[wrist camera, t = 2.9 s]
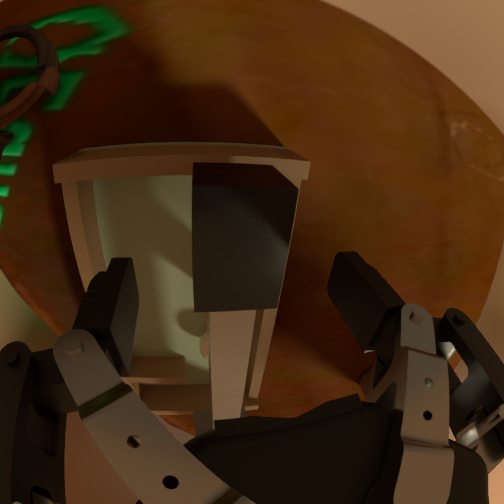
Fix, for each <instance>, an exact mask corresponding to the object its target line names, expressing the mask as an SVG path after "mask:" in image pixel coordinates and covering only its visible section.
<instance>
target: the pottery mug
mask: <svg viewBox="0 0 504 504" xmlns="http://www.w3.org/2000/svg"><path fill="white" fill-rule="evenodd" d="M14 37H22V38H26V39H28V40H30V41H31V42H32V43H33V44H34V46H35V47H36V49H37V54H38V61H37V68H38V69H41V72H40V74H39V77H38V79H37V81H36V82H33V81H31V82H29V83H28V84H27V86H26V87H25V88H24V89H23V90H22V91H21V92H20V93H19V94H18V95H17V96H16V97H15V98H14V99H13V100H11V101H10V102H8V103H6V104H5V105H2V106H0V127H1V128H2V129H3V128H5V127H7V126H8V125H9V124H11V123H12V122H13V121H14V120H16V119H17V118H19V117H20V116H21V115H22V114H23V113H24V112H25V111H27V109H29V108H30V107H31V106H32V105H33V104H34V103H35V102H36V101H37V100H38V99H39V98H40V96H41V95H42V94H43V92H44V91H45V90H46V91H48V92H49V94H50V96H54V95H55V94H56V92H57V89H58V86H59V82H60V72H59V71H58V69H59V67H60V62H59V59H58V56H57V53H56V50H55V48H54V46H53V44H52V43H51V41H50V40H49V39H48V38H47V37H46V36H45V35H44V34H42V33H41V32H40V31H37V30H36V29H35V28H33V27H31V26H27V25H14V26H10V27H7V28H4V29H2V30H1V31H0V42H2V41H4V40H6V39H9V38H14ZM13 138H14V136H13V134H10V135H4V134H3V133H1V132H0V159H1V156H2V153H3V150H4V148H5V147H6V146H7V145H8V143H9V142H10V141H12V139H13Z"/></svg>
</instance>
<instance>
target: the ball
mask: <svg viewBox="0 0 504 504" xmlns="http://www.w3.org/2000/svg"><path fill="white" fill-rule="evenodd" d="M199 349H200V352H201V354H202V356H203V357H204V358H205V359H206V360H208V340H207V331H206V332H205V333H204V334H203V335H202V337H201V338H200V341H199Z"/></svg>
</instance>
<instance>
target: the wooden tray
mask: <svg viewBox="0 0 504 504" xmlns="http://www.w3.org/2000/svg"><path fill="white" fill-rule="evenodd" d="M193 162H212V163H245V164H264V165H273V166H274V167H275V168H276V169H277V170H278V171H280V172H281V173H282V174H283V175H284V176H285V177H286V178H287V179H288V180H290V181H291V182H292V183H293V184H294V185H295V186H296V187H297V188H298V189H299V191H300V185H301V179H303V180H308V175H309V169H310V161H309V160H307V159H305V158H304V157H302V156H300V155H298V154H297V153H295V152H293V151H291V150H289V149H288V148H286V147H283V146H272V145H260V144H245V143H223V142H158V143H137V144H122V145H110V146H100V147H91V148H84V149H82V150H80V151H78V152H76V153H74V154H72V155H70V156H68V157H66V158H64V159H62V160H61V161H59V162H57V163H55V164H53V174H54V182H55V183H62V190H63V197H64V203H65V210H66V215H67V221H68V226H69V231H70V236H71V240H72V245H73V249H74V253H75V257H76V261H77V265H78V268H79V272H80V276H81V279H82V283H83V286H84V289H85V292H87V288H88V286H89V283H90V281H91V279H92V278H93V277H94V276H95V275H96V274H97V273H98V272H99V271H107V268H108V266H109V263H110V261H111V259H112V258H115V257H131V258H132V259H133V264H134V270H135V275H136V281H137V286H138V292H139V309H138V315H137V322H136V328H135V335H134V343H133V351H132V360H131V369H130V377H121V379H122V380H123V381H124V382H125V384H129V385H130V386H131V388H132V389H133V390H134V391H135V392H136V394H137V395H138V396H139V397H140V399H141V400H142V401H143V402H144V403H145V405H146V406H147V407H148V408H149V409H150V411H151V412H152V413H153V414H154V415H190V414H194V423H195V432H196V436H198V435H200V434H202V433H205V432H207V431H209V430H212V420H211V404H210V386H209V362H208V360H206V359H205V358H204V357H203V356H202V354H201V352H200V349H199V341H200V338H201V337H202V335H203V334H204V333H205V332H206V320H205V312H198V313H194V298H193V272H192V175H193ZM298 198H299V192H298ZM298 198H297V204H298ZM297 204H296V209H297ZM295 215H296V210H295ZM294 221H295V216H294ZM293 227H294V222H293ZM293 227H292V232H293ZM291 238H292V233H291ZM290 243H291V239H290ZM289 249H290V244H289ZM288 254H289V250H288ZM287 259H288V255H287ZM286 265H287V260H286ZM285 270H286V266H285ZM284 275H285V271H284ZM283 280H284V276H283ZM282 285H283V281H282ZM281 290H282V286H281ZM280 295H281V291H280ZM279 300H280V296H279ZM278 305H279V301H278ZM277 310H278V306H277V308H275V309H260V310H256V315H255V322H254V328H253V335H252V342H251V349H250V356H249V362H248V369H247V375H246V382H245V389H244V395H243V401H242V408H241V414H240V418H241V417H247V415H246V410H254V409H258V406H259V404H258V400H257V398H258V394H259V390H260V385H261V381H262V377H263V373H264V368H265V364H266V360H267V355H268V351H269V347H270V342H271V338H272V333H273V328H274V324H275V319H276V314H277Z"/></svg>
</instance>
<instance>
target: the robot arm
mask: <svg viewBox="0 0 504 504" xmlns="http://www.w3.org/2000/svg"><path fill="white" fill-rule="evenodd" d="M327 289H328V294H329V297H330V298H331V300H332V302H333V303H334V305H335V306H336V308H337V310H338V311H339V313H340V314H341V316H342V318H343V319H344V321H345V323H346V324H347V326H348V328H349V329H350V331H351V333H352V334H353V336H354V338H355V339H356V341H357V343H358V344H359V346H360V348H361V349H362V351H363V353H367V352H370V351H374V350H375V351H376V353H377V354H376V355H375V357H374V359H373V365H372V367H371V368H370V369H369V370H367V371H366V372H365V373H364V374H363V375H362V377H361V378H360V380H359V385H360V387H361V389H362V391H363V393H364V395H365V400H364V401H363V402H361V400H360V398H359V396H358V394H357V393H356V394H352V395H349V396H346V397H342V398H339V399H335V400H331V401H327V402H325V403H323V404H322V405H320V406H318V407H316V408H314V409H312V410H310V411H308V412H306V413H304V414H302V415H300V416H298V417H295V418H276V417H260V416H249V417H241V418H232V419H222V420H214V429H213V430H210V431H207V432H205V433H202V434H200V435H198V436H196V437H194V438H193V439H191V440H189V441H188V442H187V443H185V444H184V445H182V444H181V443H180V442H179V441H178V440H177V439H176V438H175V437H174V436H173V435H172V434H171V433H170V432H169V431H168V430H167V429H166V427H165V426H164V425H163V424H162V423H161V422H160V421H159V420H158V419H157V418H156V416H155V415H154V414H153V413H152V412H151V411H150V409H149V408H148V407H147V406H146V405H145V403H144V402H143V401H142V400H141V399H140V397H139V396H138V395H137V394H136V392H135V391H134V390H133V389H132V388H131V386H130V385H129V384H125V382H124V381H123V380H122V379H121V377H130V369H131V360H132V351H133V343H134V335H135V328H136V322H137V315H138V309H139V292H138V286H137V281H136V275H135V270H134V264H133V259H132V258H131V257H115V258H112V259H111V261H110V263H109V266H108V268H107V271H99V272H98V273H97V274H96V275H95V276H94V277H93V278H92V279H91V281H90V283H89V286H88V288H87V292H86V293H85V295H84V300H82V303H81V306H80V308H79V311H78V314H77V316H76V319H75V322H74V325H73V328H72V330H70V331H67V332H65V333H64V334H62V335H61V336H60V337H59V338H58V339H57V340H56V342H55V344H54V347H53V348H51V349H47V350H42V351H37V352H31V351H30V349H29V348H28V346H27V345H26V344H25V343H22V342H19V341H16V342H11V343H9V344H7V345H6V346H5V347H4V348H3V349H2V350H1V351H0V504H66V498H65V481H64V480H65V479H64V449H65V430H66V418H67V413H70V412H75V411H79V415H80V417H81V419H82V421H83V423H84V425H85V426H86V428H87V430H88V431H89V433H90V434H91V436H92V438H93V439H94V441H95V442H96V444H97V445H98V447H99V448H100V450H101V451H102V453H103V454H104V456H105V457H106V458H107V460H108V461H109V463H110V464H111V465H112V467H113V468H114V469H115V471H116V472H117V473H118V474H119V475H120V477H121V478H122V479H123V481H124V482H125V483H126V484H127V486H128V487H129V488H130V489H131V490H132V491H133V493H134V494H135V495H136V496H137V497H138V498H139V500H138V501H137V503H136V504H489V496H488V474H489V473H490V472H491V471H492V470H493V469H494V468H495V467H496V466H497V465H498V464H499V463H500V462H501V461H502V460H503V458H504V364H503V362H502V361H501V360H500V358H499V357H498V355H497V354H496V353H495V351H494V350H493V348H492V347H491V346H490V344H489V343H488V342H487V340H486V339H485V338H484V337H483V335H482V334H481V333H480V331H479V330H478V329H477V327H476V326H475V325H474V324H473V322H472V321H471V320H470V319H469V318H468V316H467V315H466V314H465V313H463V312H462V311H460V310H458V309H455V308H449V309H447V311H446V312H445V314H444V316H443V317H442V318H432V317H431V315H430V314H429V312H428V311H427V310H425V309H424V308H422V307H420V306H418V305H415V304H406V303H405V302H404V301H403V300H402V299H401V297H400V296H399V295H398V294H397V293H396V292H395V290H394V289H393V288H392V287H391V286H390V285H389V284H388V282H387V281H386V280H385V279H384V278H382V276H381V275H380V273H379V272H378V271H377V270H376V269H375V268H373V267H372V266H370V265H369V264H367V263H366V262H365V261H364V260H363V259H362V258H361V256H360V255H359V254H358V253H357V252H354V251H353V252H338V253H337V254H336V256H335V260H334V263H333V267H332V270H331V273H330V277H329V280H328V285H327ZM456 350H457V352H458V353H459V355H460V356H461V358H462V359H463V360H464V362H465V364H466V365H467V367H468V371H469V372H468V377H467V378H466V379H465V380H464V382H463V383H461V382H460V380H459V378H458V377H457V375H456V373H455V372H454V370H453V369H452V367H451V366H450V364H449V363H448V360H449V359H450V357H451V356H452V355H453V353H454V352H455V351H456ZM449 426H450V428H451V431H452V432H453V435H454V437H455V439H456V441H453V440H451V439H449V438H448V437H449Z"/></svg>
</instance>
